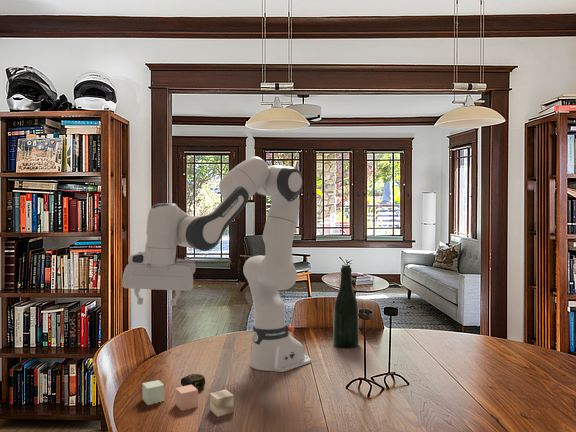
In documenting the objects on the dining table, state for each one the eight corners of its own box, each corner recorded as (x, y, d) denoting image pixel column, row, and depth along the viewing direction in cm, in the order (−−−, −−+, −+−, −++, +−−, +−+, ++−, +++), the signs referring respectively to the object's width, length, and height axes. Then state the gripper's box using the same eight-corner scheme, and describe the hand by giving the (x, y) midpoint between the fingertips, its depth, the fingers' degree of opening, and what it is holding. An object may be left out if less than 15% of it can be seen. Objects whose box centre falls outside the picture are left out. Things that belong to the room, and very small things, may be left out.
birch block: (226, 406, 144) (225, 389, 144) (233, 412, 140) (233, 395, 140) (210, 410, 141) (209, 393, 141) (217, 416, 137) (217, 399, 137)
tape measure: (179, 387, 158) (179, 376, 158) (199, 382, 162) (199, 371, 162) (188, 394, 153) (188, 382, 153) (208, 389, 157) (208, 377, 157)
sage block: (158, 396, 152) (158, 379, 152) (164, 401, 148) (164, 385, 147) (142, 399, 149) (142, 383, 149) (147, 405, 145) (147, 388, 145)
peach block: (191, 401, 148) (191, 384, 148) (198, 407, 144) (197, 390, 144) (175, 404, 145) (175, 388, 145) (181, 411, 141) (181, 393, 141)
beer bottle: (341, 339, 210) (341, 262, 208) (363, 344, 203) (363, 264, 202) (328, 346, 201) (328, 265, 200) (351, 350, 195) (351, 267, 194)
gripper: (196, 258, 150) (193, 304, 150) (126, 255, 147) (122, 301, 146) (196, 260, 144) (192, 307, 144) (122, 256, 141) (119, 305, 140)
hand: (156, 304), depth 145 cm, fingers open, 8 cm apart
